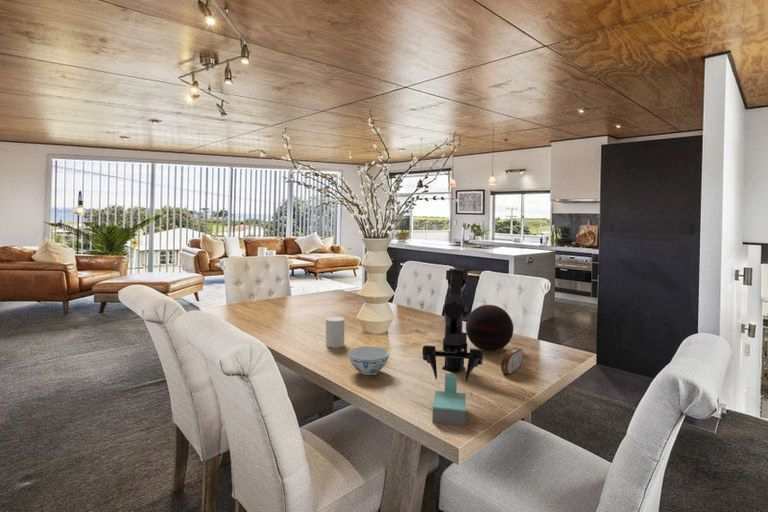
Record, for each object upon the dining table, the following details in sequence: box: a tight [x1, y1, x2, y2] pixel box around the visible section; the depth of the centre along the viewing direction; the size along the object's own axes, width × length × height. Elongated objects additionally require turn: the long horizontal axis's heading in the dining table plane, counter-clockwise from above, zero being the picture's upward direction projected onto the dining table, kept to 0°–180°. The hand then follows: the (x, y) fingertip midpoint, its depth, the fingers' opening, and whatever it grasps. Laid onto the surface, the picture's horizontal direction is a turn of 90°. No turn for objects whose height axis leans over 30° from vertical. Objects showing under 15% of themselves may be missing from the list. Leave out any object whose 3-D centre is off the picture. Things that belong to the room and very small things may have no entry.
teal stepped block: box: [432, 373, 467, 413], centre depth 126 cm, size 14×9×10 cm, turn 169°
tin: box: [500, 346, 524, 375], centre depth 163 cm, size 15×3×8 cm, turn 141°
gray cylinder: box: [325, 316, 345, 349], centre depth 191 cm, size 8×8×12 cm
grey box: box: [431, 408, 466, 427], centre depth 125 cm, size 10×9×4 cm
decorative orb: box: [465, 304, 514, 352], centre depth 187 cm, size 20×20×20 cm
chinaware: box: [348, 345, 390, 376], centre depth 159 cm, size 15×15×8 cm
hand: (451, 380), depth 132 cm, fingers open, 9 cm apart
